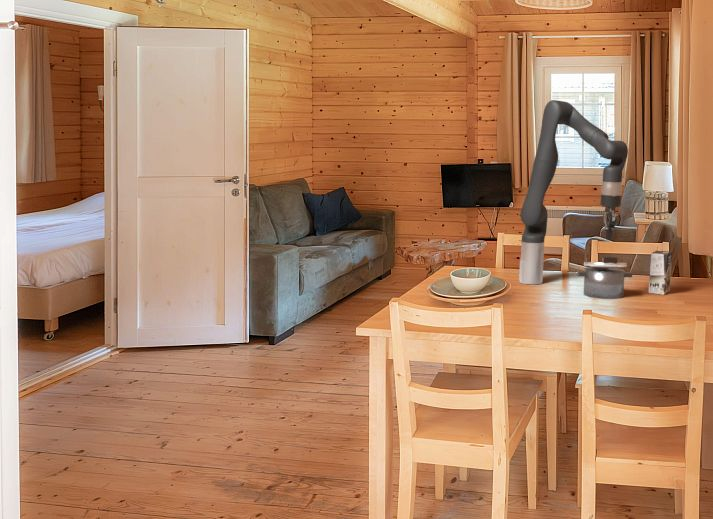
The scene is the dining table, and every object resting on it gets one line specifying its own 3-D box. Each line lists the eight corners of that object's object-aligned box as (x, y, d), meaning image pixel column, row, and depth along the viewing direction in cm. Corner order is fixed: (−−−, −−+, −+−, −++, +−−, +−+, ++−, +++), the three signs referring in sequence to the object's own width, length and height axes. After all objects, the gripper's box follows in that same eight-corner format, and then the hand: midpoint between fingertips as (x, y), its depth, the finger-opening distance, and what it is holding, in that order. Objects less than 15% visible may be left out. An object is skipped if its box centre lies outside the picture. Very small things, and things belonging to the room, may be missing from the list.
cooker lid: (589, 266, 345) (589, 257, 345) (579, 265, 361) (579, 256, 361) (631, 267, 345) (631, 257, 345) (620, 266, 361) (620, 257, 361)
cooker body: (580, 298, 348) (582, 272, 346) (571, 289, 365) (572, 265, 363) (635, 299, 347) (636, 273, 346) (623, 290, 364) (624, 266, 363)
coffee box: (664, 294, 357) (667, 254, 354) (648, 293, 360) (650, 252, 358) (670, 291, 364) (673, 251, 362) (653, 289, 368) (656, 249, 365)
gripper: (597, 192, 352) (594, 236, 355) (605, 195, 339) (602, 241, 342) (616, 192, 352) (613, 237, 355) (625, 195, 339) (622, 241, 342)
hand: (608, 239), depth 348 cm, fingers closed
